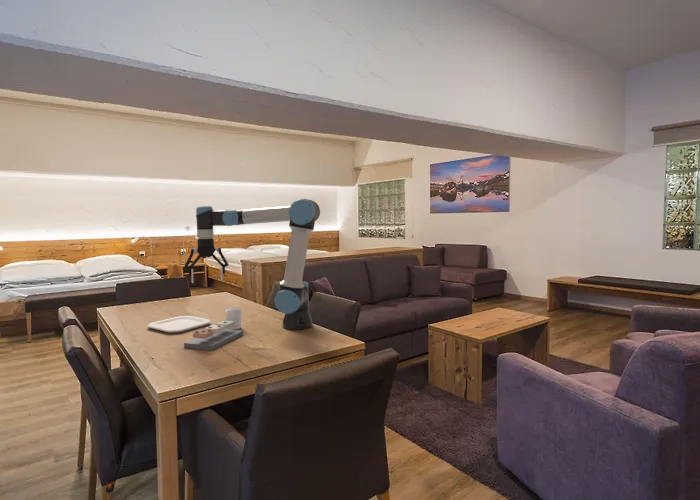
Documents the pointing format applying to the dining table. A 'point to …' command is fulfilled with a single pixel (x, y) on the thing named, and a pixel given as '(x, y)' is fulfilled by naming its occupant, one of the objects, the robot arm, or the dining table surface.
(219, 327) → the tile two
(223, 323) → the tile one
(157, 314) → the dining table surface
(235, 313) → the white cup
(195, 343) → the board
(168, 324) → the plate
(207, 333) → the tile three
